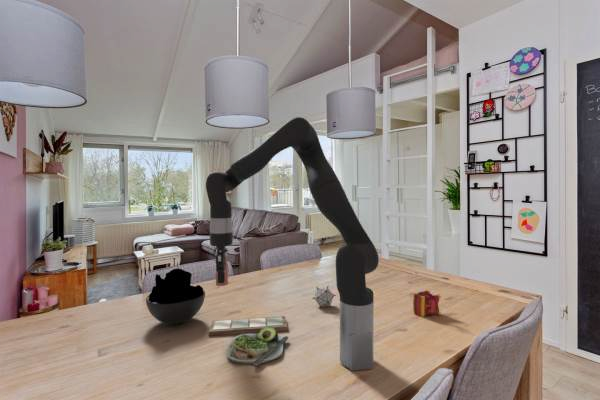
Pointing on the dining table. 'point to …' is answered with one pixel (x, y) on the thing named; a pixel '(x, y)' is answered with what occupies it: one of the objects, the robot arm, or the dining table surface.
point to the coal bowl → (175, 297)
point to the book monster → (426, 303)
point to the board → (246, 325)
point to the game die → (323, 297)
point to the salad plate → (257, 346)
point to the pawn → (225, 274)
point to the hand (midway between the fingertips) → (221, 280)
